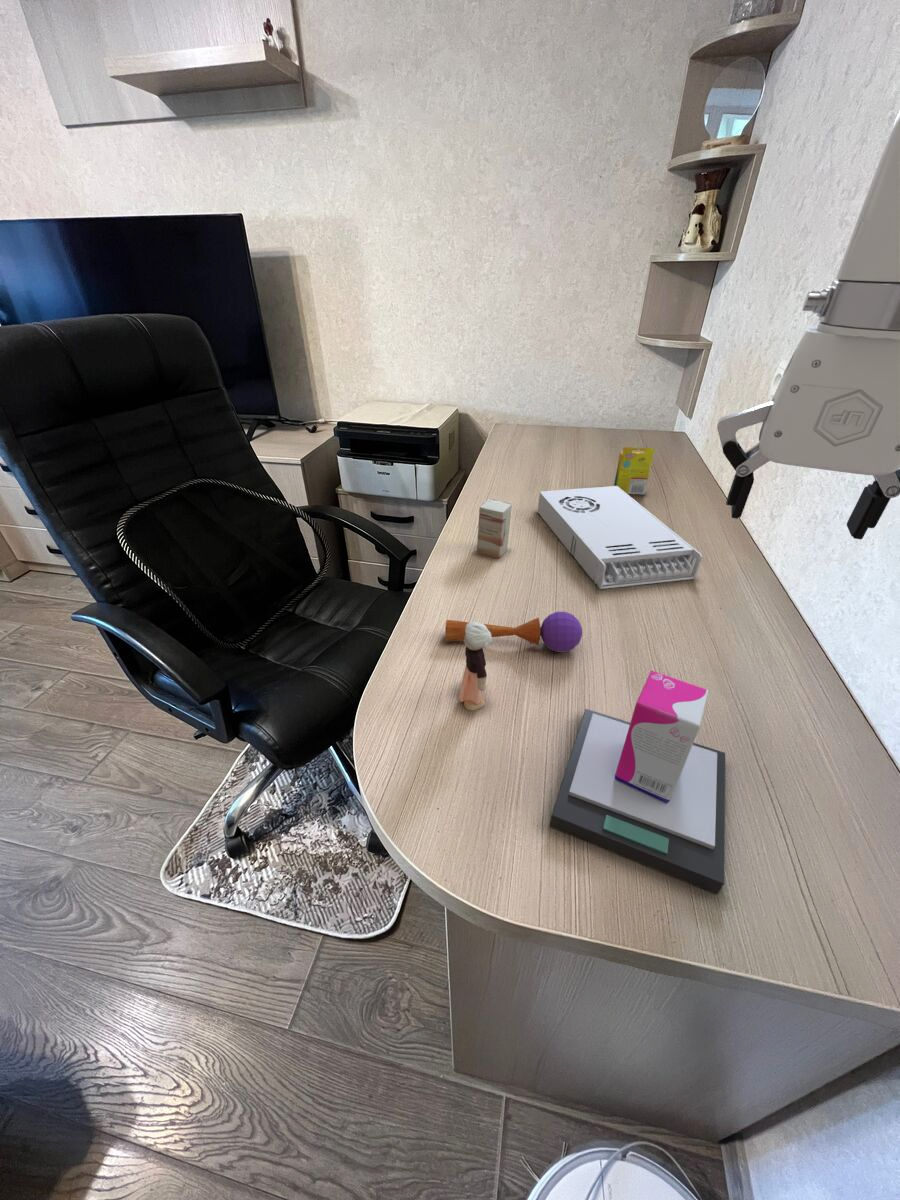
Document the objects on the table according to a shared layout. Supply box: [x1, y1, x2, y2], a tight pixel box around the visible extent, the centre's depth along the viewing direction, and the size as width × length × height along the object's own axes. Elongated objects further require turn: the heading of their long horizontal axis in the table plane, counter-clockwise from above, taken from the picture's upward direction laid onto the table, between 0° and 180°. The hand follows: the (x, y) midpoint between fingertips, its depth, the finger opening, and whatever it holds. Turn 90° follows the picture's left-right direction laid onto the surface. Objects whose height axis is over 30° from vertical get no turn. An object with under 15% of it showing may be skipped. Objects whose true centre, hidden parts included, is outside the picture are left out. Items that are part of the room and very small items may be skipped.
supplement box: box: [615, 670, 709, 803], centre depth 51 cm, size 6×6×12 cm
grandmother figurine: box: [458, 620, 493, 712], centre depth 63 cm, size 8×4×13 cm, turn 21°
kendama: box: [444, 611, 583, 653], centre depth 75 cm, size 6×6×20 cm
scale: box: [549, 708, 726, 895], centre depth 54 cm, size 16×16×3 cm
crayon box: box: [613, 446, 655, 496], centre depth 122 cm, size 7×3×12 cm, turn 84°
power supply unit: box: [537, 485, 703, 590], centre depth 102 cm, size 19×33×5 cm, turn 11°
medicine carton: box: [476, 498, 513, 560], centre depth 97 cm, size 5×4×10 cm
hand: (792, 522), depth 47 cm, fingers open, 9 cm apart
